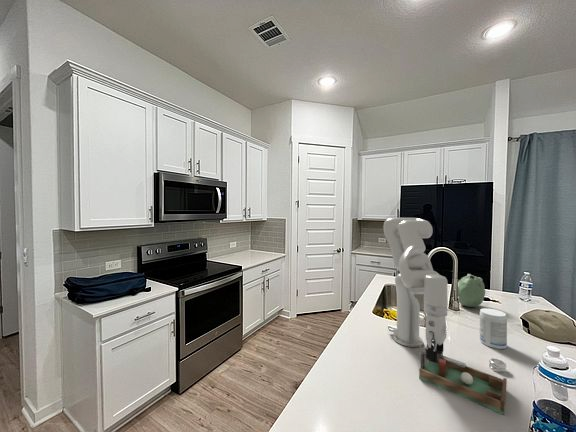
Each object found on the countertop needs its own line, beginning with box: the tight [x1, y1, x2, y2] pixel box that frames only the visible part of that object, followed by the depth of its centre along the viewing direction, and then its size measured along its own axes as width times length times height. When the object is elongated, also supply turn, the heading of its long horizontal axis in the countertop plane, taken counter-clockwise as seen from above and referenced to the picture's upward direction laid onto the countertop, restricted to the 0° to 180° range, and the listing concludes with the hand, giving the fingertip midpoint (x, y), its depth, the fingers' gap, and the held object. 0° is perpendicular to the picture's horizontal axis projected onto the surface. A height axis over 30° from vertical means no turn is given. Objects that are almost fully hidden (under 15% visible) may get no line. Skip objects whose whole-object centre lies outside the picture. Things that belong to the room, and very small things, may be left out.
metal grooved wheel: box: [488, 358, 507, 374], centre depth 95 cm, size 5×3×5 cm
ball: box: [460, 372, 473, 385], centre depth 85 cm, size 4×4×4 cm
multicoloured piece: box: [424, 349, 467, 377], centre depth 89 cm, size 12×3×7 cm, turn 46°
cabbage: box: [457, 273, 486, 308], centre depth 158 cm, size 16×19×20 cm
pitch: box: [418, 351, 508, 416], centre depth 86 cm, size 24×14×6 cm, turn 46°
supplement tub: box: [479, 307, 508, 350], centre depth 112 cm, size 10×10×15 cm
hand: (435, 355), depth 91 cm, fingers open, 9 cm apart
